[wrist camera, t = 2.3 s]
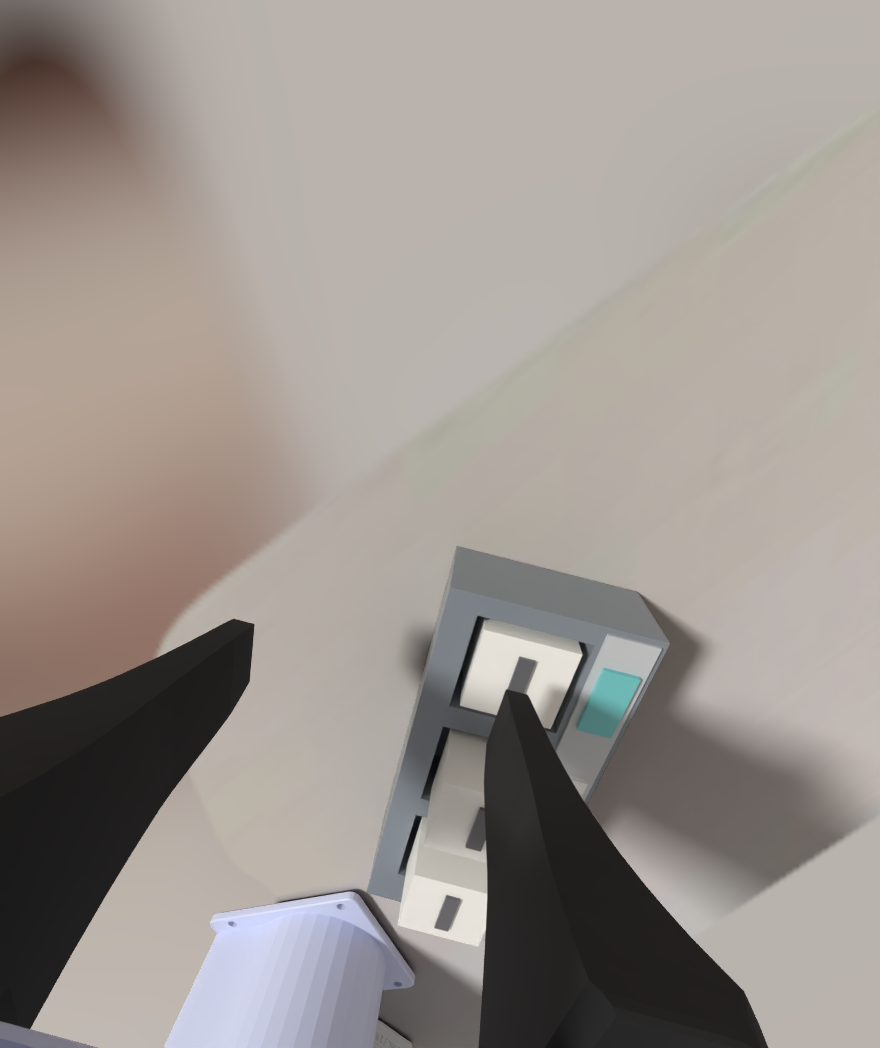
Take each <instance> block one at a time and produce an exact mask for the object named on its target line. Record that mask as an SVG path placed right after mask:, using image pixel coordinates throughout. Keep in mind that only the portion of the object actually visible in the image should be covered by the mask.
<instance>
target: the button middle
mask: <svg viewBox="0 0 880 1048" xmlns="http://www.w3.org/2000/svg"><path fill="white" fill-rule="evenodd" d="M487 740H488V738H486V737H482V736H478V735H475V734H471V733H467V732H463V731H459V730H455V729H451V728H450V731H449V734H448V737H447V740H446V743H445V747H444V750H443V753H442V756H441V759H440V762H439V766H438V769H437V772H436V775H435V778H434V781H433V784H432V788H431V795H430V803H429V810H428V818H427V826H426V833H425V841H424V847H428V848H431V849H435V850H439V851H443V852H447V853H450V854H454V855H458V856H462V857H466V858H469V859H473V860H477V861H481V862H485V863H487V855H486V830H485V805H484V769H485V756H486V743H487Z"/></svg>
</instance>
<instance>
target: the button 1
mask: <svg viewBox="0 0 880 1048" xmlns="http://www.w3.org/2000/svg"><path fill="white" fill-rule="evenodd" d="M426 826H427V818H425V817H422V819H421V822H420V825H419V828H418V831H417V835H416V838H415V841H414V844H413V847H412V850H411V854H410V857H409V860H408V863H407V869H406V875H405V882H404V888H403V894H402V900H401V907H400V913H399V919H398V926H402V927H406V928H409V929H413V930H417V931H421V932H424V933H428V934H432V935H436V936H439V937H443V938H447V939H451V940H455V941H458V942H462V943H466V944H470V945H473V946H477V947H478V945H479V943H480V941H481V939H482V937H483V935H484V932H485V930H486V914H487V863H485V862H481V861H477V860H473V859H469V858H466V857H462V856H458V855H454V854H450V853H447V852H443V851H439V850H435V849H431V848H428V847H424V841H425V833H426Z"/></svg>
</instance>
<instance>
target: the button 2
mask: <svg viewBox="0 0 880 1048" xmlns="http://www.w3.org/2000/svg"><path fill="white" fill-rule="evenodd" d="M581 657H582V651H581V648H580V645H579V642H578V641H575V640H571V639H567V638H564V637H560V636H556V635H552V634H548V633H544V632H540V631H536V630H532V629H528V628H524V627H521V626H517V625H513V624H509V623H505V622H501V621H497V620H493V619H489V618H485V617H481V616H478V617H477V621H476V624H475V627H474V630H473V634H472V637H471V640H470V643H469V647H468V650H467V653H466V656H465V660H464V663H463V673H462V686H461V698H460V706H463V707H467V708H471V709H475V710H478V711H482V712H486V713H490V714H494V715H497V713H498V710H499V707H500V704H501V702H502V699H503V696H504V693H505V691H506V689H508V690H512V691H516V692H519V693H523V694H527V695H528V696H529V698H530V700H531V702H532V704H533V706H534V708H535V710H536V713H537V715H538V717H539V719H540V721H541V723H542V725H543V727H544V728H548V729H551V727H552V725H553V722H554V720H555V718H556V715H557V713H558V711H559V708H560V706H561V704H562V701H563V699H564V697H565V695H566V692H567V690H568V688H569V685H570V683H571V681H572V678H573V676H574V674H575V671H576V669H577V667H578V664H579V662H580V660H581Z"/></svg>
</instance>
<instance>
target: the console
mask: <svg viewBox="0 0 880 1048" xmlns="http://www.w3.org/2000/svg"><path fill="white" fill-rule="evenodd" d="M478 616H481V617H485V618H489V619H493V620H497V621H501V622H505V623H509V624H513V625H517V626H521V627H524V628H528V629H532V630H536V631H540V632H544V633H548V634H552V635H556V636H560V637H564V638H567V639H571V640H575V641H578V642H579V645H580V648H581V651H582V657H581V660H580V662H579V664H578V667H577V669H576V671H575V674H574V676H573V678H572V681H571V683H570V685H569V688H568V690H567V692H566V695H565V697H564V699H563V701H562V704H561V706H560V708H559V711H558V713H557V715H556V718H555V720H554V722H553V725H552V727H551V729H548V728H544V729H545V731H546V733H547V736H548V738H549V740H550V741H551V743H552V745H553V747H554V749H555V751H556V753H557V755H558V757H559V759H560V760H561V762H562V764H563V766H564V768H565V770H566V772H567V773H568V775H569V777H570V779H571V780H572V782H573V784H574V785H575V787H576V789H577V790H578V792H579V794H580V795H581V797H582V799H583V800H584V802H585V804H586V805H587V804H588V802H589V800H590V798H591V796H592V794H593V792H594V790H595V788H596V786H597V784H598V782H599V780H600V778H601V776H602V775H603V773H604V771H605V769H606V767H607V765H608V763H609V761H610V759H611V757H612V755H613V753H614V751H615V749H616V747H617V745H618V744H619V742H620V740H621V738H622V736H623V734H624V732H625V730H626V728H627V726H628V724H629V722H630V720H631V718H632V716H633V715H634V713H635V711H636V709H637V707H638V705H639V703H640V701H641V699H642V697H643V695H644V693H645V691H646V689H647V687H648V685H649V684H650V682H651V680H652V678H653V676H654V674H655V672H656V670H657V668H658V666H659V664H660V662H661V660H662V658H663V656H664V655H665V653H666V651H667V649H668V647H669V645H670V642H669V640H668V639H667V637H666V636H665V634H664V633H663V631H662V630H661V628H660V626H659V625H658V623H657V622H656V620H655V619H654V617H653V615H652V614H651V612H650V611H649V609H648V608H647V606H646V605H645V603H644V601H643V600H642V598H641V597H640V595H639V594H638V592H635V591H631V590H627V589H623V588H619V587H615V586H611V585H608V584H604V583H600V582H596V581H592V580H588V579H584V578H580V577H576V576H572V575H568V574H564V573H560V572H556V571H552V570H548V569H544V568H541V567H537V566H533V565H529V564H525V563H521V562H517V561H513V560H509V559H505V558H501V557H497V556H493V555H489V554H485V553H481V552H477V551H474V550H470V549H466V548H462V547H458V546H457V548H456V552H455V555H454V559H453V563H452V566H451V570H450V574H449V578H448V581H447V585H446V589H445V592H444V596H443V600H442V604H441V607H440V611H439V615H438V618H437V622H436V626H435V630H434V633H433V637H432V641H431V644H430V648H429V652H428V656H427V659H426V663H425V667H424V671H423V674H422V678H421V682H420V685H419V689H418V693H417V697H416V700H415V704H414V708H413V711H412V715H411V719H410V723H409V726H408V730H407V734H406V737H405V741H404V745H403V749H402V752H401V756H400V760H399V764H398V767H397V771H396V775H395V778H394V782H393V786H392V790H391V793H390V797H389V801H388V804H387V808H386V812H385V816H384V819H383V823H382V828H381V832H380V836H379V841H378V845H377V850H376V854H375V858H374V863H373V867H372V872H371V876H370V881H369V885H368V889H367V893H369V894H373V895H377V896H381V897H384V898H388V899H392V900H396V901H399V902H401V900H402V894H403V888H404V882H405V875H406V869H407V863H408V860H409V857H410V854H411V850H412V847H413V844H414V841H415V838H416V835H417V831H418V828H419V825H420V822H421V819H422V817H425V818H428V810H429V803H430V795H431V788H432V784H433V781H434V778H435V775H436V772H437V769H438V766H439V762H440V759H441V756H442V753H443V750H444V747H445V743H446V740H447V737H448V734H449V731H450V728H451V729H455V730H459V731H463V732H467V733H471V734H475V735H478V736H482V737H486V738H489V735H490V732H491V729H492V727H493V724H494V721H495V718H496V715H494V714H490V713H486V712H482V711H478V710H475V709H471V708H467V707H463V706H460V698H461V686H462V673H463V663H464V660H465V656H466V653H467V650H468V647H469V643H470V640H471V637H472V634H473V630H474V627H475V624H476V621H477V617H478Z"/></svg>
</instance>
